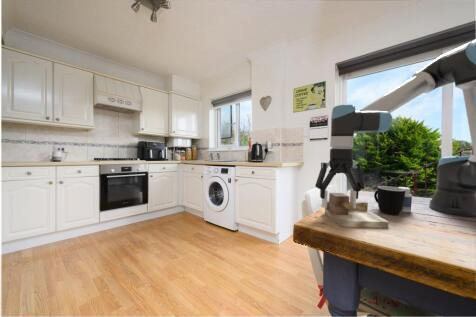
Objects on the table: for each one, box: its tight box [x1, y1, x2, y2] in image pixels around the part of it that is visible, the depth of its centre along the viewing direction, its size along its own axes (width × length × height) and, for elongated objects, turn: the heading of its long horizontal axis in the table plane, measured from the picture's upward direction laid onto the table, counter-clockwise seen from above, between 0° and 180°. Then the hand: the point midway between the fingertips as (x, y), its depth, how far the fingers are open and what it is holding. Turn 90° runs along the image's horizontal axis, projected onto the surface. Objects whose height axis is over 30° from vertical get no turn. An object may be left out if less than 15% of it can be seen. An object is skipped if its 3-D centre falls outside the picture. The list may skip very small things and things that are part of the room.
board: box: [324, 200, 390, 228], centre depth 74 cm, size 16×13×5 cm
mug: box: [373, 185, 405, 216], centre depth 84 cm, size 12×9×10 cm
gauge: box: [328, 192, 353, 215], centre depth 73 cm, size 5×11×7 cm, turn 0°
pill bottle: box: [397, 186, 413, 213], centre depth 85 cm, size 5×5×10 cm
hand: (338, 207), depth 76 cm, fingers open, 10 cm apart
